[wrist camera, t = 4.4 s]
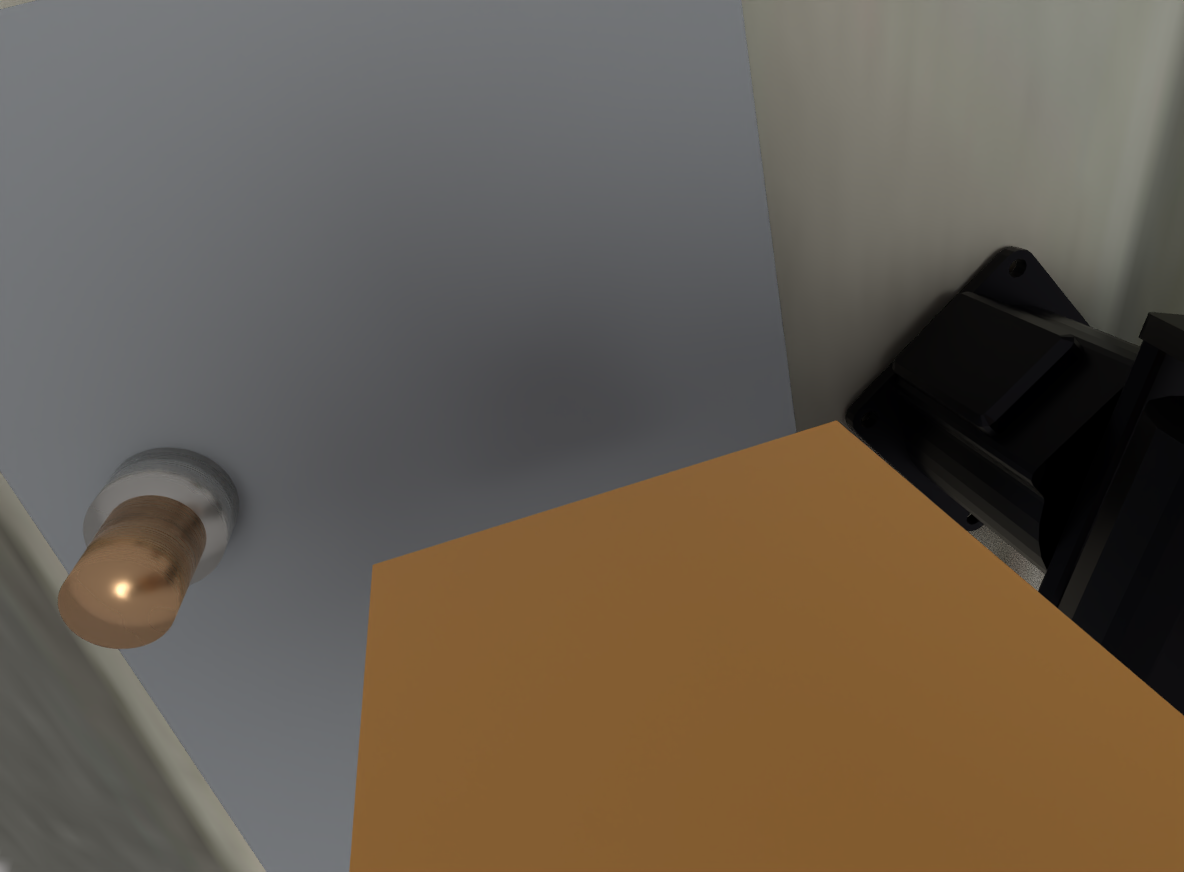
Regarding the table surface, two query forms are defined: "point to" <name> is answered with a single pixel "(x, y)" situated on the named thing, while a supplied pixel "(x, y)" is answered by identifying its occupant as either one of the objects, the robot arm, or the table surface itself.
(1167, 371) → the robot arm
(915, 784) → the orange cardboard-tone cube
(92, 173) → the flat grey board
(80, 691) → the table surface
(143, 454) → the copper silver stepped knob
